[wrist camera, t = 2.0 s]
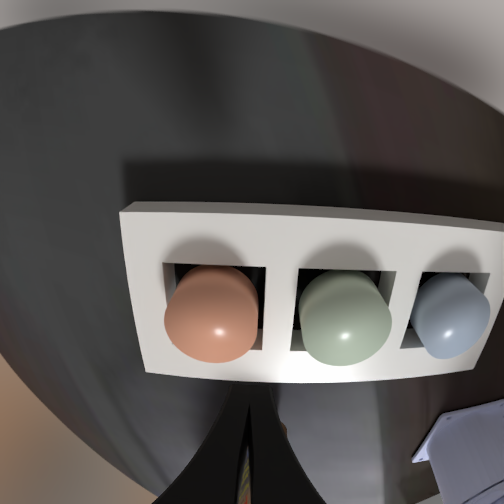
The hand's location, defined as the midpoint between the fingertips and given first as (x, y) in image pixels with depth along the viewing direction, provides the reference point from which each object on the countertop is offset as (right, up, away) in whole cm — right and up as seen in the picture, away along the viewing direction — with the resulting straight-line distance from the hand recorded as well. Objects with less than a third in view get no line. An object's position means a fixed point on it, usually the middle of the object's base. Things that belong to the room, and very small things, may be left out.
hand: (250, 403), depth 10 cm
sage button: (+5, +2, +6) cm, 8 cm away
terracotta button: (-2, +3, +7) cm, 7 cm away
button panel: (+5, +3, +7) cm, 9 cm away
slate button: (+11, +2, +6) cm, 13 cm away
